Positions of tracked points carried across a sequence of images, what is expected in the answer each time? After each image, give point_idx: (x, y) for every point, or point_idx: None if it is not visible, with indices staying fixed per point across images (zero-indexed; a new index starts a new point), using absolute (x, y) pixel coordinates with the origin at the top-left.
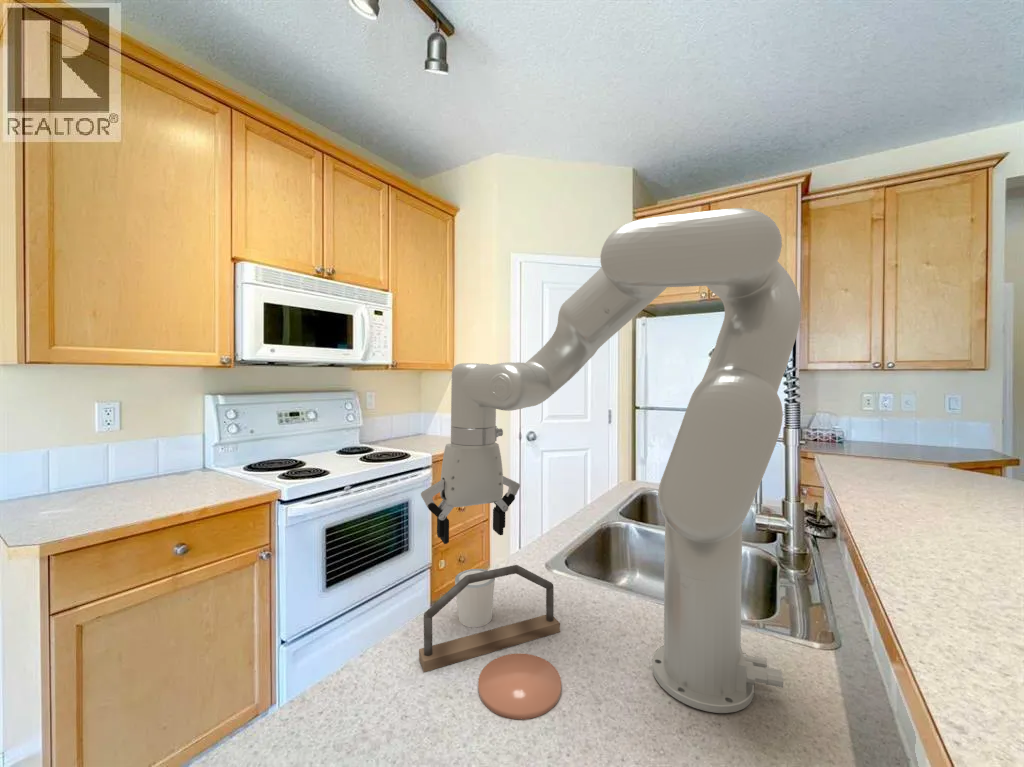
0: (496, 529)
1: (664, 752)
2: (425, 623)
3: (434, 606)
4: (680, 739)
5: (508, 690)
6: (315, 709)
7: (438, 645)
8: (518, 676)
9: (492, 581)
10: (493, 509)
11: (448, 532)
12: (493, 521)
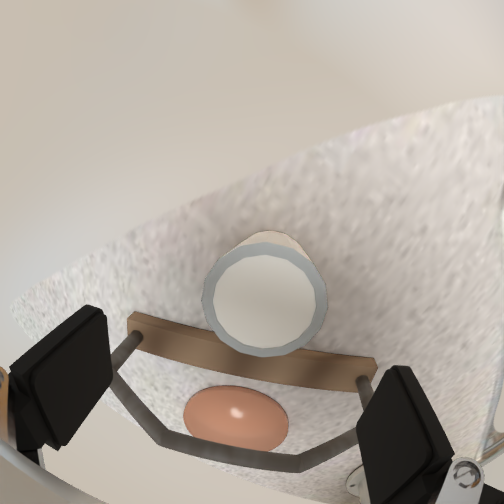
0: (370, 415)
1: (290, 492)
2: None
3: (109, 386)
4: (310, 491)
5: (213, 428)
6: (39, 307)
7: (155, 330)
8: (236, 424)
9: (294, 349)
10: (422, 457)
11: (89, 409)
12: (398, 403)
